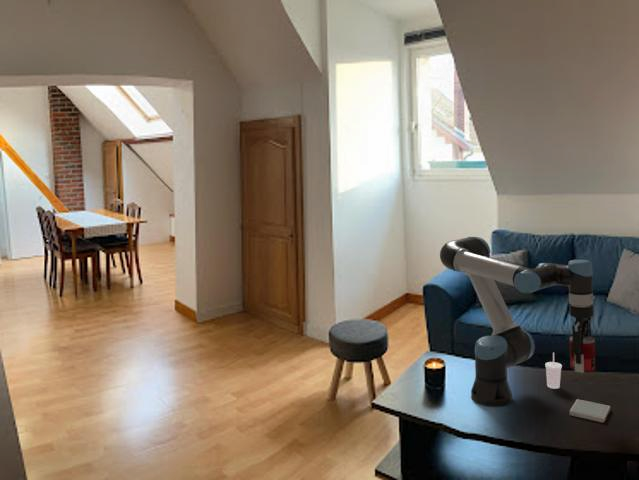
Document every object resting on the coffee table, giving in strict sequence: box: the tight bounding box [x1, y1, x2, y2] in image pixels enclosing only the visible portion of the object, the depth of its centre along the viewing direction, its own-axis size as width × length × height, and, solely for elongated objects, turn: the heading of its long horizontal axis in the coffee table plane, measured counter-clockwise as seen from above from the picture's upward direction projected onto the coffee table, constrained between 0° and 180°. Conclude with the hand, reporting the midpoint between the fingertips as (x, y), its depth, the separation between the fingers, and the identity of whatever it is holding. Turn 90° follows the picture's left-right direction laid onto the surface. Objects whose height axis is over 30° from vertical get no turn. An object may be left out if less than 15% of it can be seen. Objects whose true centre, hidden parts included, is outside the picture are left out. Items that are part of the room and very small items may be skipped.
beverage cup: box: [544, 352, 563, 390], centre depth 215 cm, size 6×6×14 cm
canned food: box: [569, 335, 596, 373], centre depth 190 cm, size 8×8×11 cm
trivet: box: [569, 398, 611, 424], centre depth 194 cm, size 11×11×2 cm
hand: (582, 367), depth 190 cm, fingers closed on canned food, 8 cm apart
